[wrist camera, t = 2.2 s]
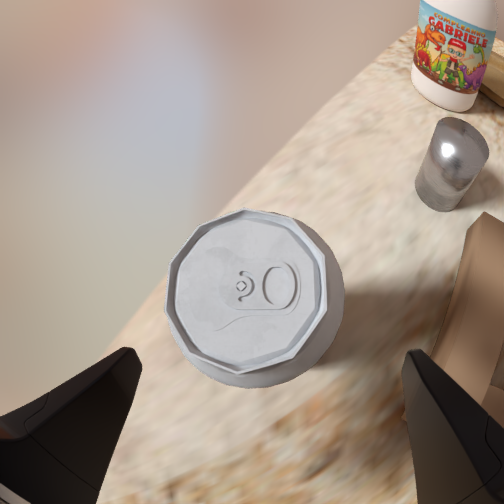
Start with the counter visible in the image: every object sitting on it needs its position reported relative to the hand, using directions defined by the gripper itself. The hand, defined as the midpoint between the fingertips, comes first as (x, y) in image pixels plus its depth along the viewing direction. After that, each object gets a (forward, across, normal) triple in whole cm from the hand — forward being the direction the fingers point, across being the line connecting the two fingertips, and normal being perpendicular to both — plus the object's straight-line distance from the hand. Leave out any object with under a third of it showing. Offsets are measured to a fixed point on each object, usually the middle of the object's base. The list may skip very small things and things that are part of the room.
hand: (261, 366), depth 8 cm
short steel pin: (+15, -12, -2) cm, 19 cm away
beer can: (+8, 0, +5) cm, 10 cm away
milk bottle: (+24, -18, -11) cm, 32 cm away
